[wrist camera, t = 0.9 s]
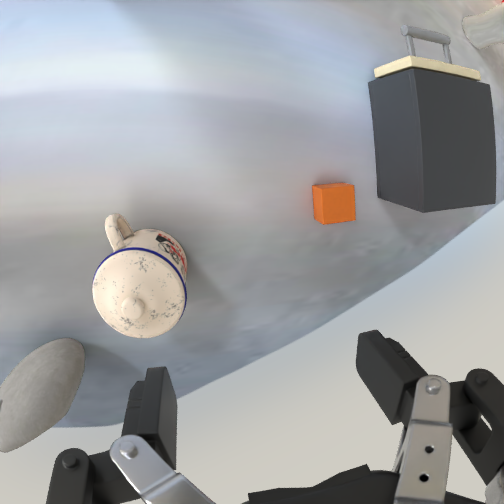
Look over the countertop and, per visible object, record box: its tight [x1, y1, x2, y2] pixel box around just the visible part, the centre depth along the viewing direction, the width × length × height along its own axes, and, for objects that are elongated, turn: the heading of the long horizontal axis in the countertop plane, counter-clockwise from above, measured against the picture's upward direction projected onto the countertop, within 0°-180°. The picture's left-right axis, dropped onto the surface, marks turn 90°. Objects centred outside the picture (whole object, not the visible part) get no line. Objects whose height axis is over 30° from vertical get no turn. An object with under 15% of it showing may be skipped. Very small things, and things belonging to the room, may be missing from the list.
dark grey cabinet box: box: [368, 69, 496, 213], centre depth 32 cm, size 15×13×10 cm
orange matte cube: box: [312, 183, 356, 225], centre depth 36 cm, size 4×4×3 cm
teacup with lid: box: [92, 214, 187, 338], centre depth 30 cm, size 12×9×12 cm
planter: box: [0, 338, 85, 453], centre depth 29 cm, size 18×7×19 cm, turn 122°
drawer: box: [374, 25, 481, 81], centre depth 30 cm, size 18×11×8 cm, turn 7°
